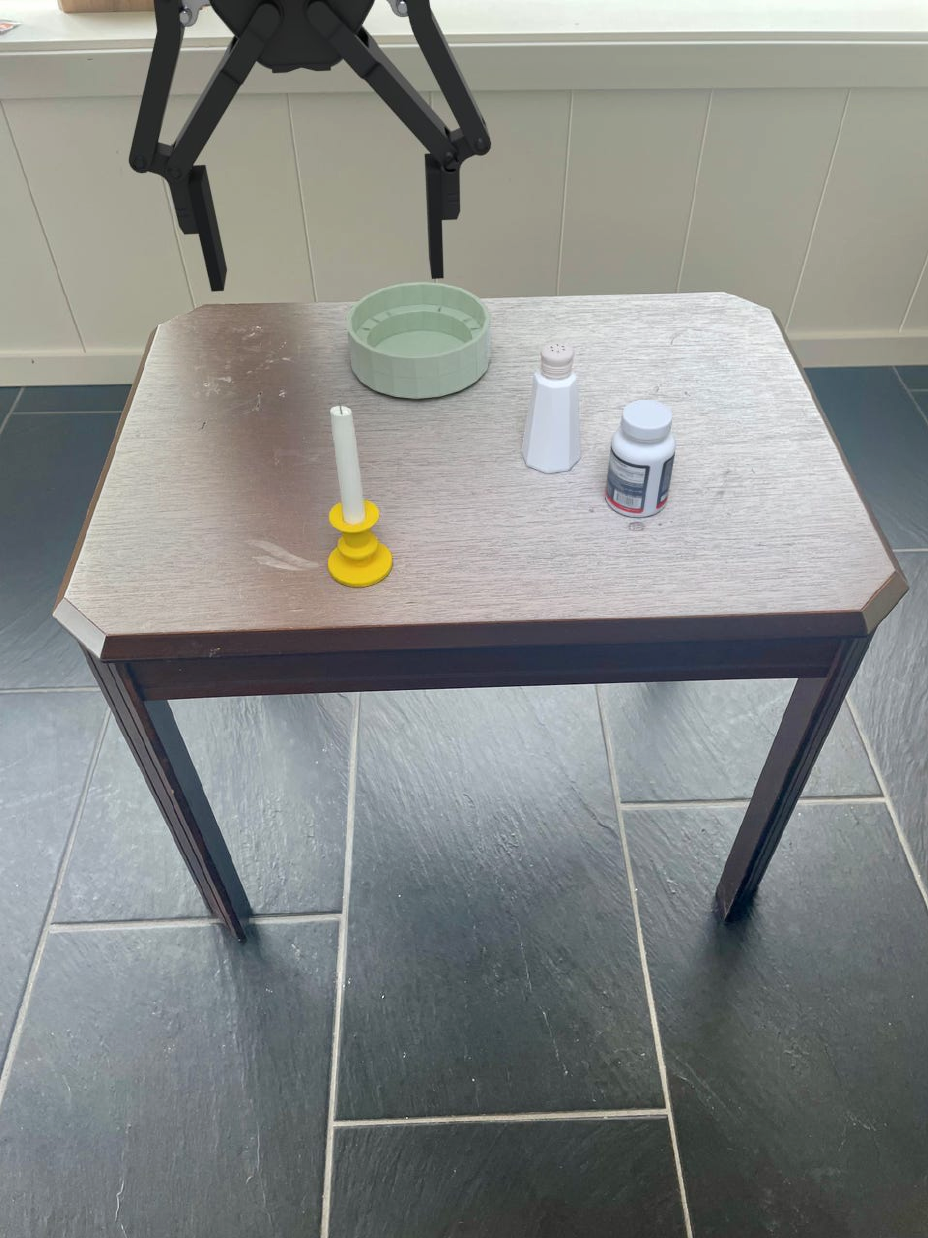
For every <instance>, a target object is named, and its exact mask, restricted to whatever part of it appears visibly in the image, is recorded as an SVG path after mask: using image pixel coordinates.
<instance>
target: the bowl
mask: <svg viewBox="0 0 928 1238" xmlns="http://www.w3.org/2000/svg"><path fill="white" fill-rule="evenodd" d="M345 323H346V332H347V340H348V348H349V349H348V350H349V357H350V358H349V359H350V367H351V371H352V373H354V375H355V376H356V378H357V379H358V380H359V381H360V382H361V383H362V384H363V385H365V386H367V387H368V388H370V389H371V390H373V391H375V392H378V393H381V394H385V395H388V396H392V397H394V398H405V399H417V400H418V399H430V398H440V397H444V396H446V395H451V394H454V393H457V392H460V391H462V390H464V389H466V388H468V387H469V386H471V385H473V384H474V383H476V382H478V381H479V379H481V377H482V376H483V375H484V374H485V373H486V372H487V371H488V368H489V365H490V362H491V346H492V345H491V343H492V342H491V339H492V338H491V336H492V335H491V333H492V331H491V330H492V329H491V328H492V327H491V326H492V317H491V314H490V311H489V307H488V305H487V304H486V303H485V302H483V300H482V299H481V298H480V297H479V296H478V295H476V294H474V293H472V292H470V291H469V290H467V289H464V288H462V287H459V286H455V285H451V284H448V283H447V284H446V283H441V282H429V281H414V282H404V283H403V282H402V283H397V284H393V285H390V286H385V287H381V288H379V289H376V290H375V291H373V292H370V293H368V294H366V295H364V296H362V297H361V298H360V299H359V300H358V301H357V302H356V303H354V304H353V305H352V306H351V307H350V310H349V312H348V313H347V316H346V318H345Z"/></svg>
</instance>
